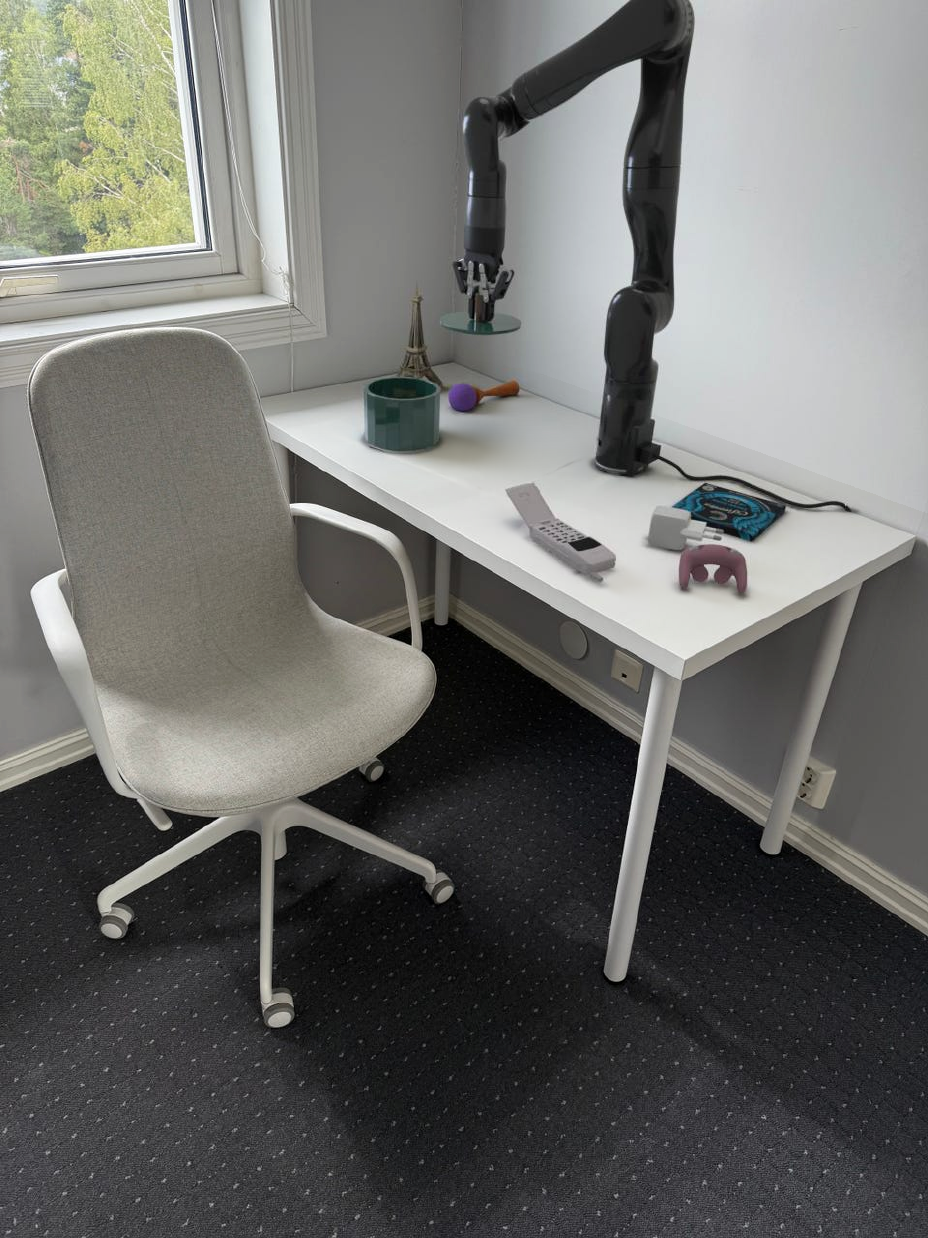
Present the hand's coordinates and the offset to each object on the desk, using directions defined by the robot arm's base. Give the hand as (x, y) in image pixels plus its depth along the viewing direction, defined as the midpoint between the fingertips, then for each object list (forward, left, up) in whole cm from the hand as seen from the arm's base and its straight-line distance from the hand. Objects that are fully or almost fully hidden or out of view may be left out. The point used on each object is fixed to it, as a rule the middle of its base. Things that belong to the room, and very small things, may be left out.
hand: (480, 319), depth 174 cm
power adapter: (-57, +16, -23) cm, 63 cm away
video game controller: (-66, +24, -23) cm, 73 cm away
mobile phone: (-43, +30, -23) cm, 57 cm away
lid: (0, 0, -1) cm, 1 cm away
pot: (+7, +14, -23) cm, 27 cm away
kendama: (+10, -15, -23) cm, 29 cm away
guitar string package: (-56, -1, -23) cm, 60 cm away
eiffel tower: (+27, -11, -23) cm, 37 cm away
